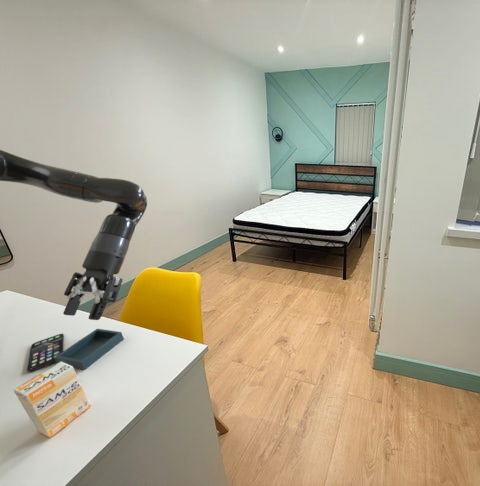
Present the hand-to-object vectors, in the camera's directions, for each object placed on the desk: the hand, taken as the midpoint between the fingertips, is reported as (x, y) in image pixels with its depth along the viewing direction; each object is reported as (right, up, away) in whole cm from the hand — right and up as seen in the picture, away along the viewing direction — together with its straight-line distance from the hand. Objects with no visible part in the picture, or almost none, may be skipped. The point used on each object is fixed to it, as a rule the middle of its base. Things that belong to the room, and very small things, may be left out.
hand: (81, 317), depth 63 cm
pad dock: (-13, -16, +18) cm, 27 cm away
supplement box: (-2, -23, -2) cm, 24 cm away
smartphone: (-27, -16, +18) cm, 36 cm away
